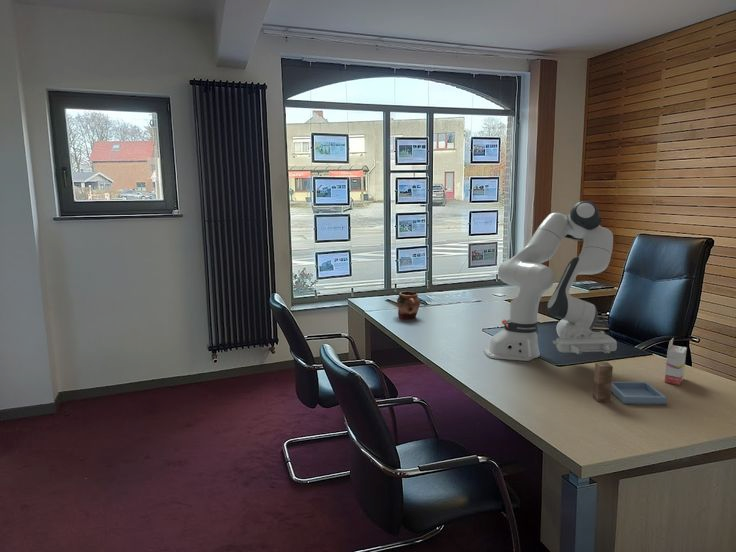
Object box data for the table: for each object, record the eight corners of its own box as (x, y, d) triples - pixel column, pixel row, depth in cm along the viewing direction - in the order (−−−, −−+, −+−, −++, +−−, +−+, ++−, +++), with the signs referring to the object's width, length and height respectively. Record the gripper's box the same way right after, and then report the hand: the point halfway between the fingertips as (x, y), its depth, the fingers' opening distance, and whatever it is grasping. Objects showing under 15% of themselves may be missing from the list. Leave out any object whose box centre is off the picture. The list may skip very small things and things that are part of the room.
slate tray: (623, 404, 158) (624, 396, 158) (607, 388, 171) (607, 381, 171) (666, 404, 158) (666, 397, 157) (646, 389, 170) (647, 382, 170)
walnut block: (597, 401, 160) (599, 366, 158) (592, 396, 164) (595, 362, 162) (610, 402, 160) (612, 366, 158) (605, 397, 164) (607, 362, 162)
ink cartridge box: (680, 385, 173) (684, 344, 170) (664, 382, 176) (667, 342, 174) (684, 378, 179) (688, 339, 177) (668, 375, 182) (672, 336, 180)
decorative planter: (426, 321, 263) (426, 295, 260) (404, 323, 259) (404, 297, 257) (411, 313, 281) (411, 288, 279) (391, 314, 278) (391, 290, 275)
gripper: (551, 332, 186) (563, 343, 173) (607, 330, 185) (624, 342, 172) (550, 348, 187) (563, 361, 174) (606, 346, 186) (623, 359, 173)
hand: (593, 351), depth 173 cm, fingers open, 8 cm apart
